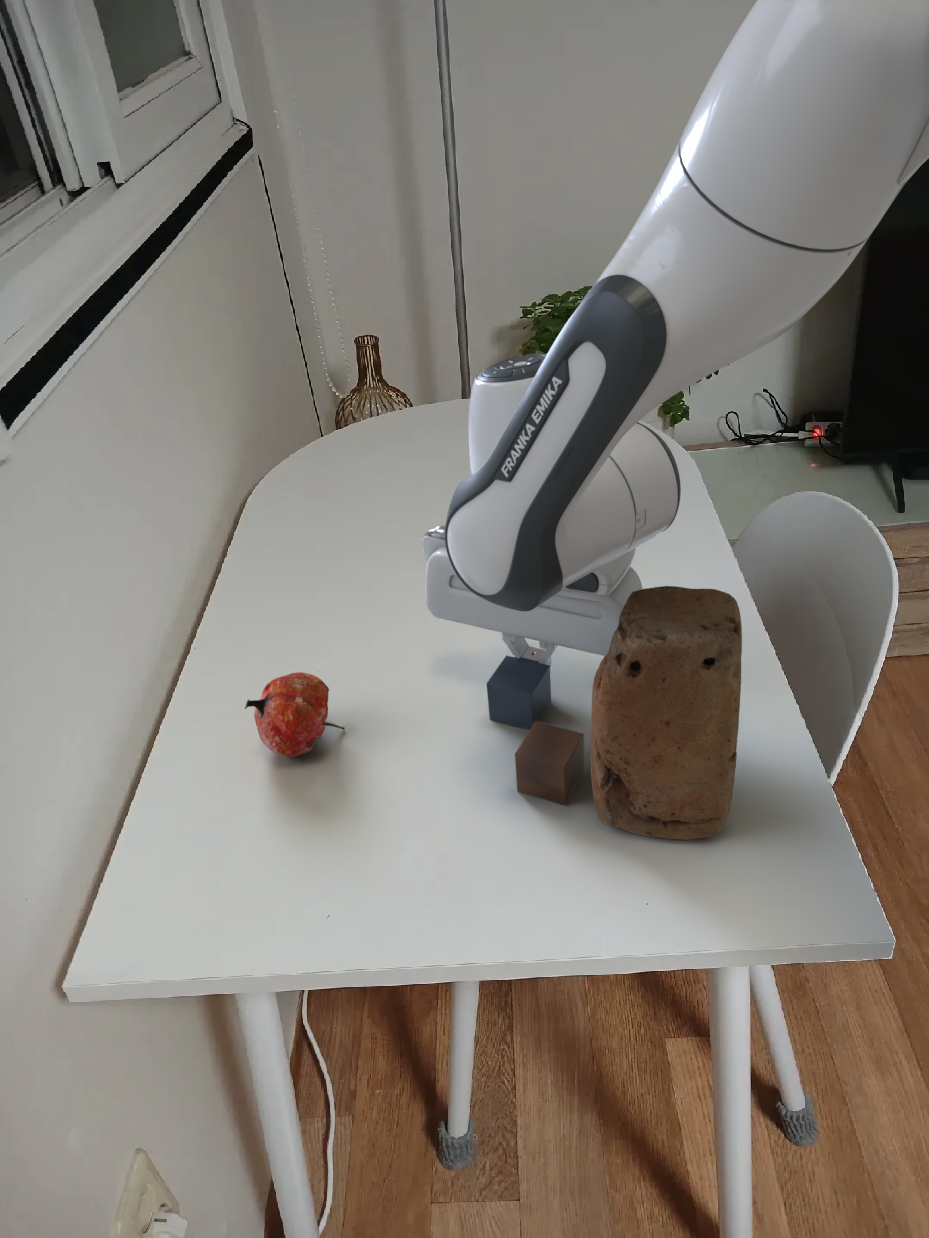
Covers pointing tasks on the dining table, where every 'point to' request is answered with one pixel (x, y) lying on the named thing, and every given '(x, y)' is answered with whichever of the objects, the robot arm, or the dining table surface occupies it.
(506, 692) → the slate cube
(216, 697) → the dining table surface
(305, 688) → the pomegranate
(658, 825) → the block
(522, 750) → the walnut cube
